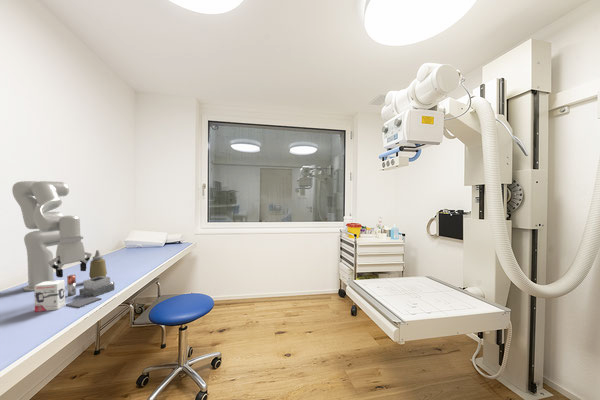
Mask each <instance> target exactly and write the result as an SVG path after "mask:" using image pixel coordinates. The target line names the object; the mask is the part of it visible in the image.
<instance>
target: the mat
mask: <svg viewBox="0 0 600 400" xmlns="http://www.w3.org/2000/svg"><path fill="white" fill-rule="evenodd" d="M101 300H102V297H98V296H96V297H91V296H88V297H87V296H84V297H82V298H80V299H76V300H73V301H72V302H68V303H65V306H66V307H67V306H68V307H73V308H77V309H78V308H79V309H81V308H84V307H86V306H87V305H91V304H93V303H96V302H98V301H101ZM85 305H86V306H85ZM80 307H81V308H80Z"/></svg>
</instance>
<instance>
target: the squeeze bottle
mask: <svg viewBox="0 0 600 400" xmlns="http://www.w3.org/2000/svg"><path fill="white" fill-rule="evenodd" d="M89 265H90V266H89V273H88V274H89V277H90V278H89V279H92V278H95V277H99V276H104V277H107V274H108V272H107V266H106V260H105V259H104V256H103V255H101V253H100V250H96V251H95V254H94V256H92V259H91V261H90V264H89Z"/></svg>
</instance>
